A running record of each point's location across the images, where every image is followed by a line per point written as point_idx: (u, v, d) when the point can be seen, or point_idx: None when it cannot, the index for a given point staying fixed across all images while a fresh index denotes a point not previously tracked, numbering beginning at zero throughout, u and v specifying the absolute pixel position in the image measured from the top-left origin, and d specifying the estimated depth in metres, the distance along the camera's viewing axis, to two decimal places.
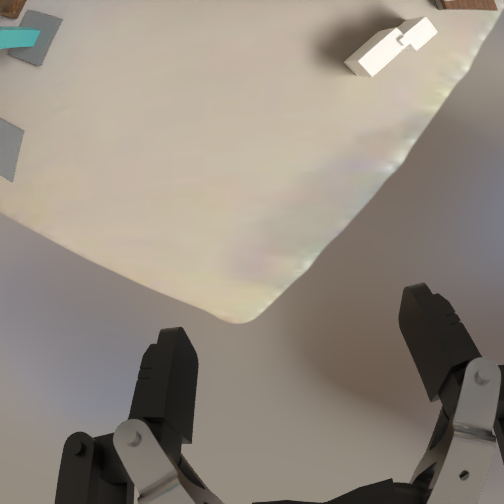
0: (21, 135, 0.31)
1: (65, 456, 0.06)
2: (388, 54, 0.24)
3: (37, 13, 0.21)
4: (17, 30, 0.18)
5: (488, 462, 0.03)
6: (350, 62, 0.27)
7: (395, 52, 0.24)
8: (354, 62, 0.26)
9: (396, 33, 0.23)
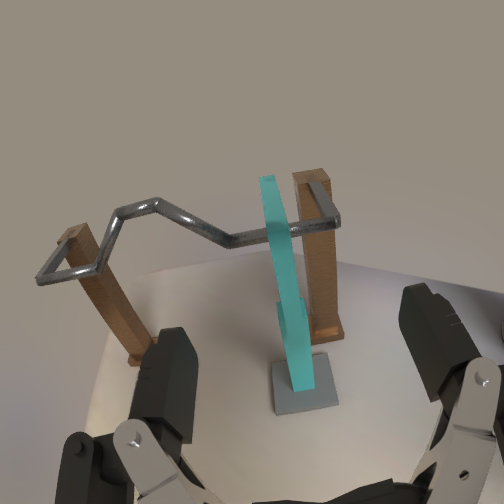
0: None
1: (65, 457, 0.06)
2: None
3: (329, 368, 0.33)
4: (311, 365, 0.28)
5: (488, 462, 0.03)
6: None
7: None
8: None
9: None
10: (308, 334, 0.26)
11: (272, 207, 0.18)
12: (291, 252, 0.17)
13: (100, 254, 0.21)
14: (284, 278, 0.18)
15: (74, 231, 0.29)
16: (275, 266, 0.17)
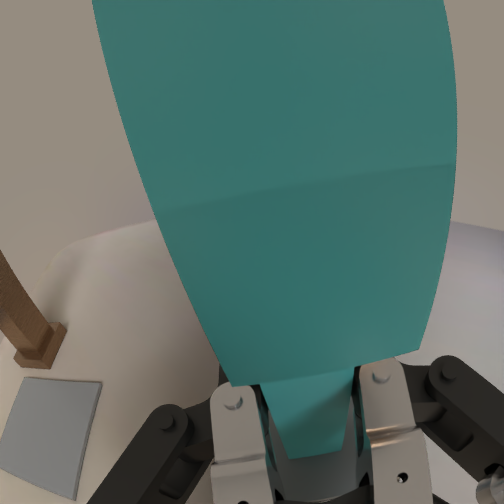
0: (64, 494, 0.10)
1: (147, 424, 0.07)
2: None
3: None
4: None
5: (424, 454, 0.04)
6: None
7: None
8: None
9: None
10: None
11: None
12: None
13: None
14: None
15: None
16: None
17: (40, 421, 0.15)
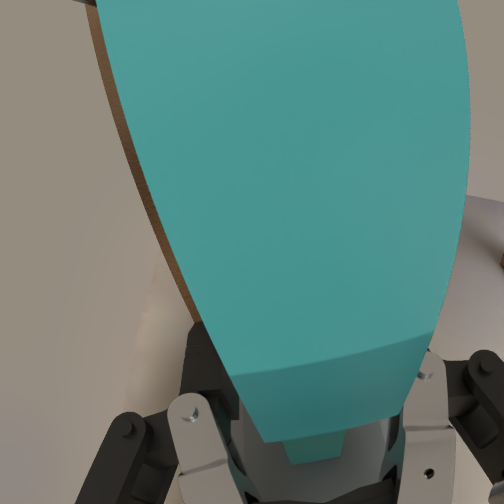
0: None
1: (110, 434, 0.07)
2: None
3: None
4: None
5: (453, 454, 0.04)
6: None
7: None
8: None
9: None
10: None
11: None
12: None
13: None
14: None
15: None
16: None
17: None
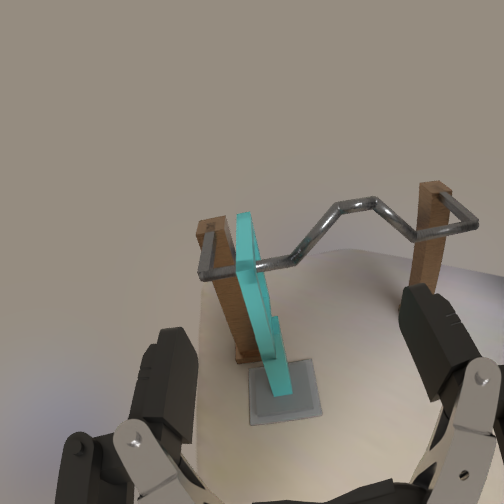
0: (316, 414, 0.33)
1: (65, 456, 0.06)
2: None
3: (306, 376, 0.37)
4: (287, 373, 0.32)
5: (488, 462, 0.03)
6: None
7: None
8: None
9: None
10: (282, 348, 0.29)
11: (243, 247, 0.22)
12: (257, 286, 0.21)
13: (306, 245, 0.23)
14: (252, 306, 0.22)
15: (215, 224, 0.32)
16: (244, 297, 0.21)
17: None
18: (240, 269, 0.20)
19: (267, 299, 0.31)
